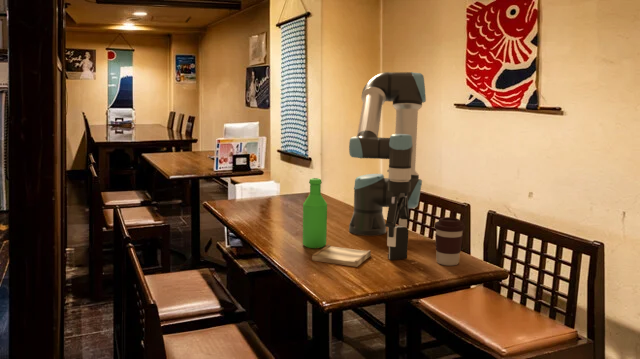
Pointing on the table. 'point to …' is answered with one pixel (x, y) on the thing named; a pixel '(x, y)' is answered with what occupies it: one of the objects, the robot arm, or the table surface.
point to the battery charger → (399, 244)
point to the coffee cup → (448, 240)
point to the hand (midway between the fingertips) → (397, 241)
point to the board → (341, 256)
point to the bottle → (315, 217)
